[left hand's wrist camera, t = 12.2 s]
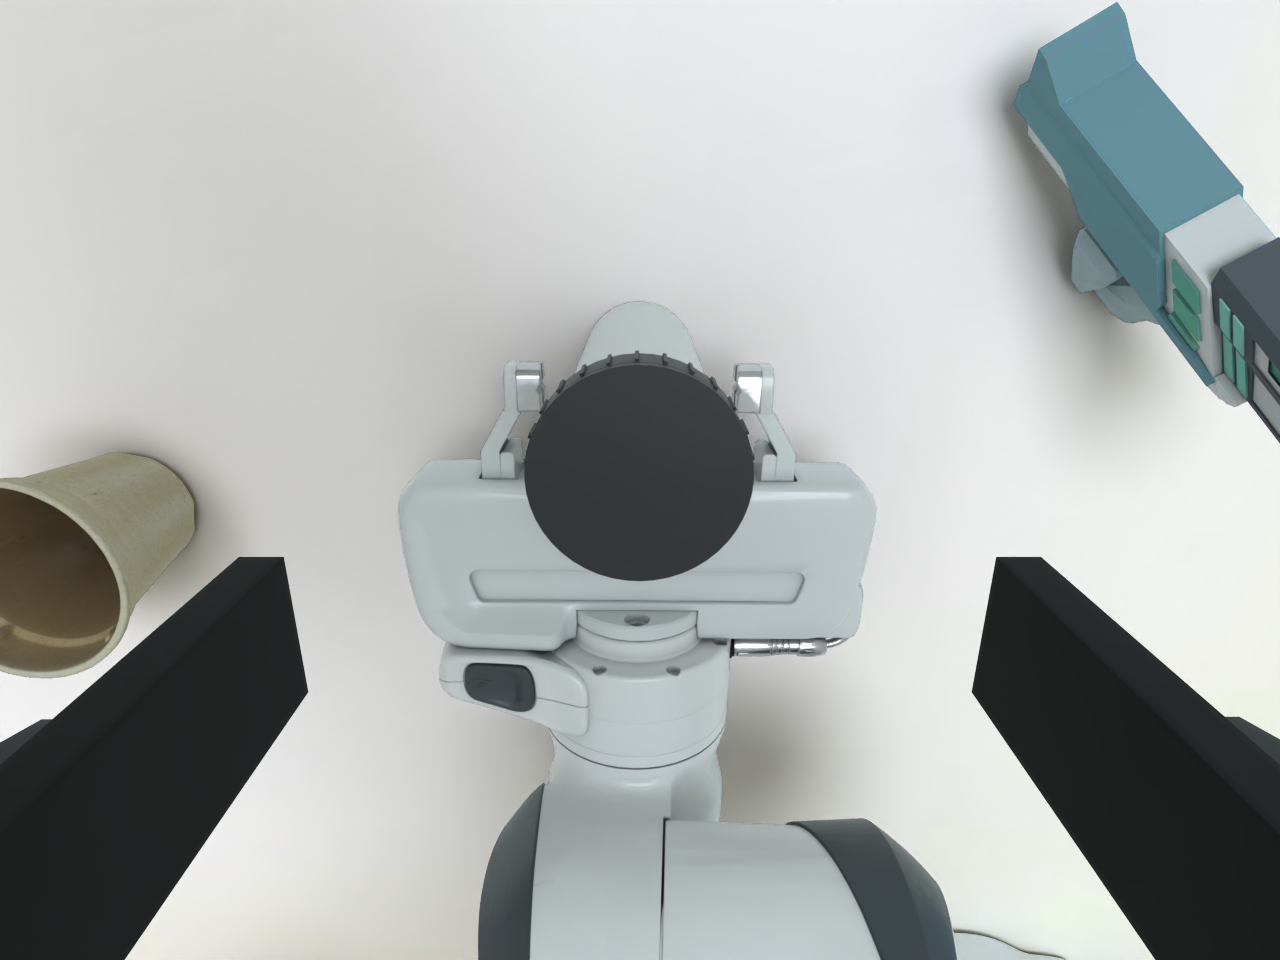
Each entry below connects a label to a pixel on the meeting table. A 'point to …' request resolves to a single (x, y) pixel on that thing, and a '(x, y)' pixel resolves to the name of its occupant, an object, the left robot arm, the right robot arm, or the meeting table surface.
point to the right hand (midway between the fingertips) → (639, 364)
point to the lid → (639, 467)
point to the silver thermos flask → (639, 335)
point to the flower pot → (83, 557)
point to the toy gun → (1158, 212)
